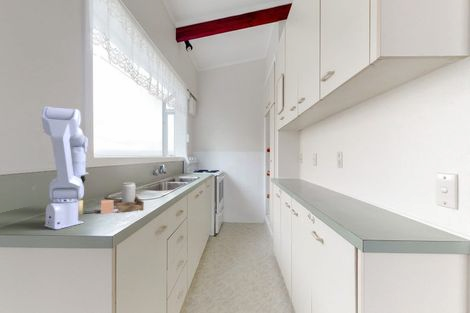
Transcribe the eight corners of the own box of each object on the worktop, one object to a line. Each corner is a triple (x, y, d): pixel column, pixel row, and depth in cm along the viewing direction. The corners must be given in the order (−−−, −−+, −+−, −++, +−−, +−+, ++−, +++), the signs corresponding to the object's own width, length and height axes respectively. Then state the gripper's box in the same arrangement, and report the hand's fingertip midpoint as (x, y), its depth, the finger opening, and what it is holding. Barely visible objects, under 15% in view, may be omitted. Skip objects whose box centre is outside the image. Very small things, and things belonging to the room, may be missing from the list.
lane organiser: (118, 212, 106) (118, 204, 106) (113, 204, 121) (113, 197, 121) (143, 210, 112) (143, 202, 112) (135, 202, 127) (135, 195, 127)
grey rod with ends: (73, 215, 98) (74, 202, 98) (75, 213, 102) (75, 199, 102) (113, 212, 106) (113, 199, 106) (112, 210, 110) (113, 197, 110)
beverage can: (137, 204, 123) (138, 182, 123) (130, 207, 117) (131, 183, 117) (126, 203, 124) (126, 181, 124) (119, 206, 118) (119, 183, 118)
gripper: (89, 163, 97) (88, 195, 97) (88, 162, 109) (87, 190, 109) (69, 163, 93) (68, 196, 93) (69, 161, 105) (69, 191, 105)
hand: (77, 193), depth 101 cm, fingers open, 7 cm apart
